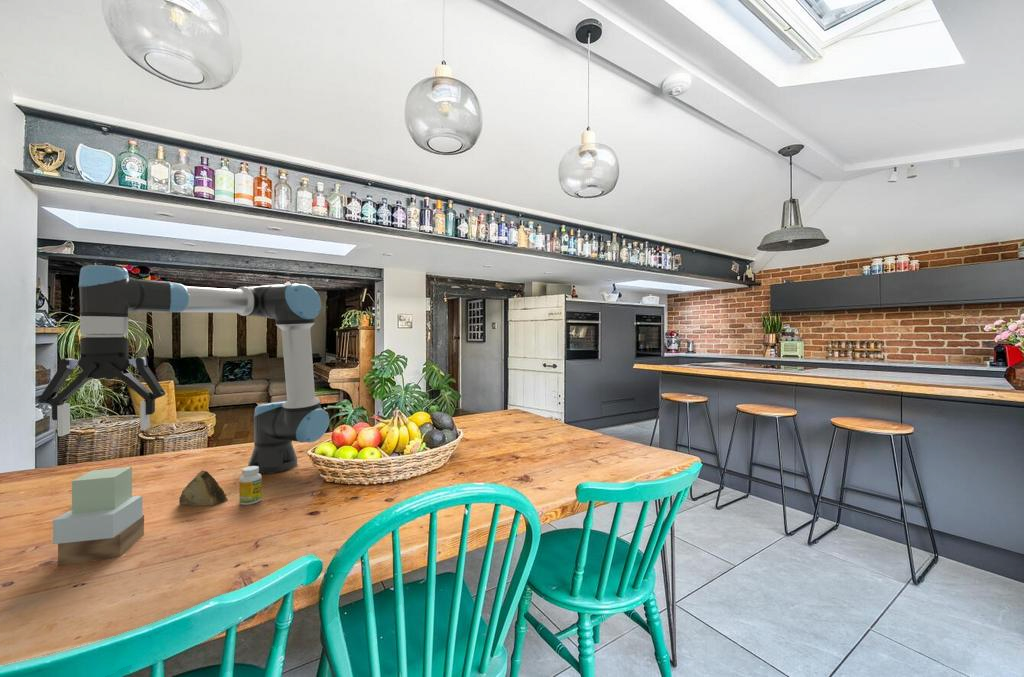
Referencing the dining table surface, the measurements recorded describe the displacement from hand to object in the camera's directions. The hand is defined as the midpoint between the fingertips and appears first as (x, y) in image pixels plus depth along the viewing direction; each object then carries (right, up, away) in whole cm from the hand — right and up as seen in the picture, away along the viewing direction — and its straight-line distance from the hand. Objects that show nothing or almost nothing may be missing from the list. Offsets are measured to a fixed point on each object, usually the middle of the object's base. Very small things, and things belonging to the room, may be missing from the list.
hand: (105, 432), depth 89 cm
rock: (+3, -26, +24) cm, 36 cm away
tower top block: (0, -21, -1) cm, 21 cm away
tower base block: (0, -26, 0) cm, 26 cm away
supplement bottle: (+16, -26, +25) cm, 39 cm away
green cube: (0, -16, 0) cm, 16 cm away
